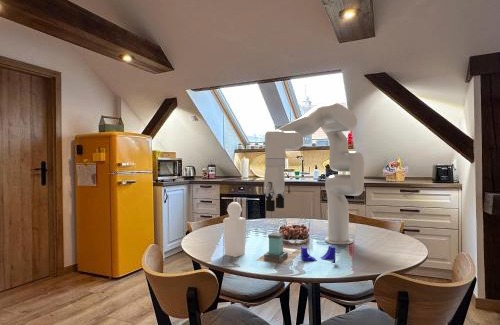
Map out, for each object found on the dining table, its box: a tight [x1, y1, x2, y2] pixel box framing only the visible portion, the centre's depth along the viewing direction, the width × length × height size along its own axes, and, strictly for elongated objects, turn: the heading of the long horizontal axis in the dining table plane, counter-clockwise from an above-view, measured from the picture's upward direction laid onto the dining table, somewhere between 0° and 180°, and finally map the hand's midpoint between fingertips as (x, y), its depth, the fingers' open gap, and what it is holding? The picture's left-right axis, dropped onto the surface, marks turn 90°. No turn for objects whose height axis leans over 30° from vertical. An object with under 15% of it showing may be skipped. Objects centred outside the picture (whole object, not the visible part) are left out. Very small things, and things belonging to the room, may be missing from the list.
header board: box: [256, 247, 301, 265], centre depth 123 cm, size 20×12×4 cm, turn 154°
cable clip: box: [300, 244, 336, 264], centre depth 118 cm, size 12×4×6 cm, turn 93°
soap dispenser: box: [222, 201, 247, 258], centre depth 125 cm, size 6×6×22 cm
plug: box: [267, 232, 284, 256], centre depth 119 cm, size 4×4×9 cm
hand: (275, 209), depth 119 cm, fingers open, 9 cm apart
